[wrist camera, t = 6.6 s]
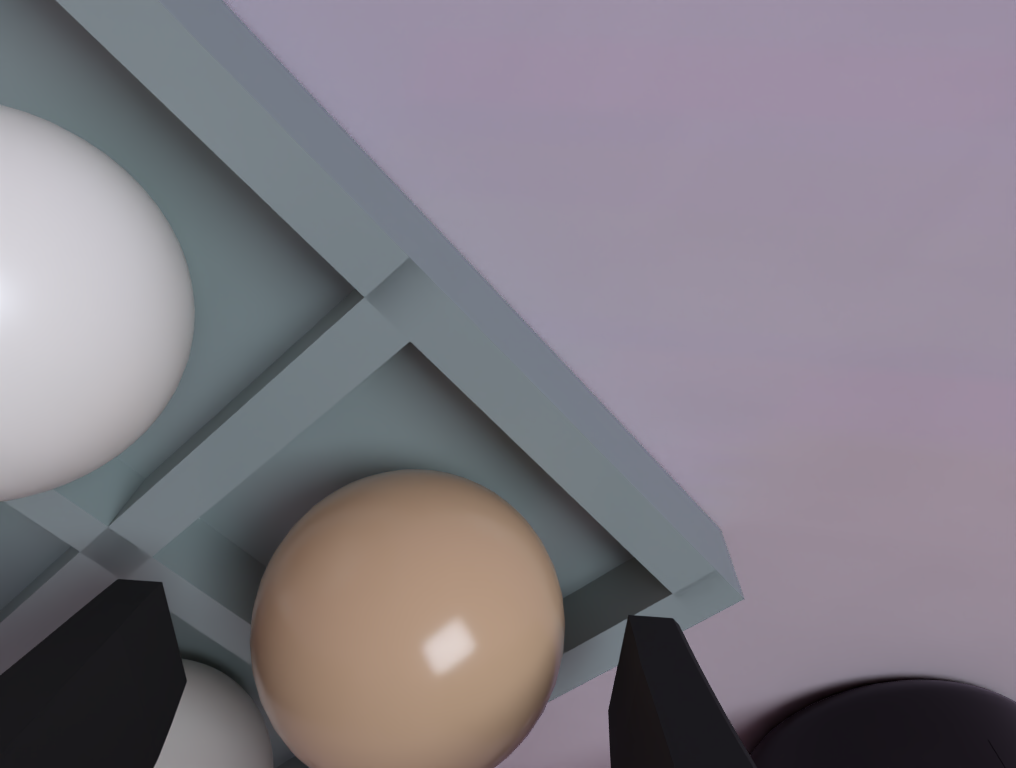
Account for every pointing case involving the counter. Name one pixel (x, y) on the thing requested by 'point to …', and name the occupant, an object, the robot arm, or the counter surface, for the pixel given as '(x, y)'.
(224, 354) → the egg carton
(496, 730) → the brown egg
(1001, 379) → the counter surface
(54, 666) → the robot arm
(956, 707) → the supplement bottle
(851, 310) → the counter surface
